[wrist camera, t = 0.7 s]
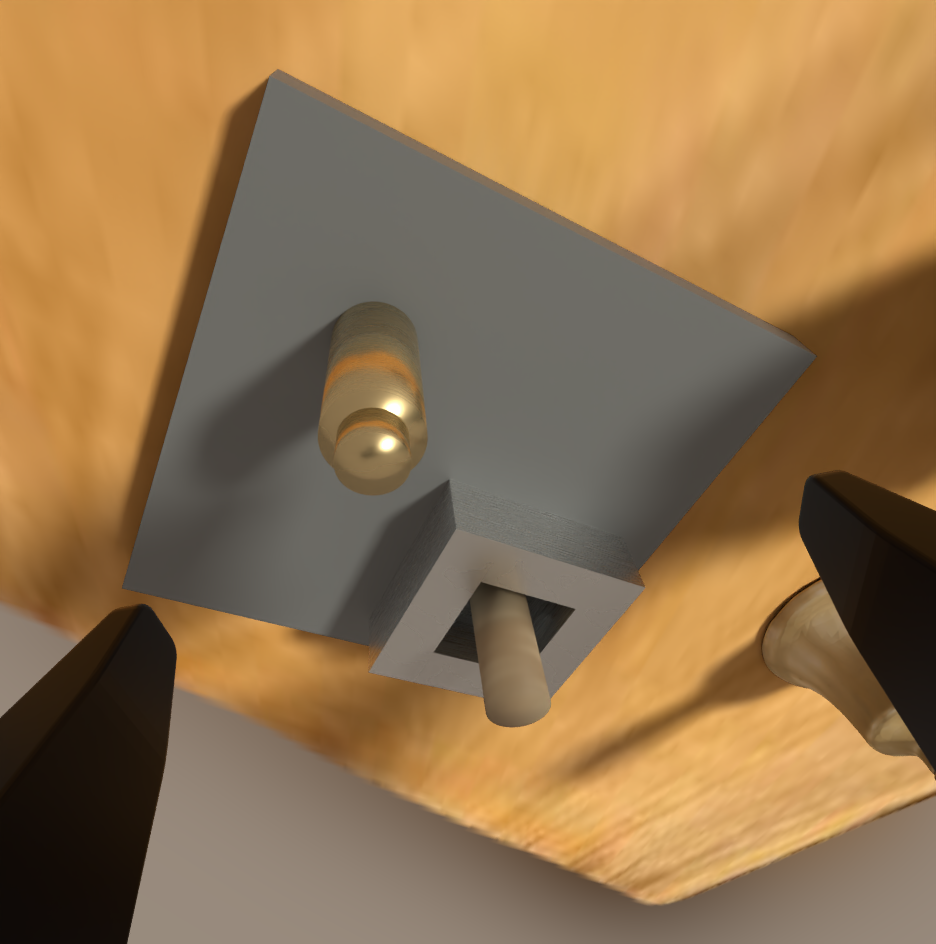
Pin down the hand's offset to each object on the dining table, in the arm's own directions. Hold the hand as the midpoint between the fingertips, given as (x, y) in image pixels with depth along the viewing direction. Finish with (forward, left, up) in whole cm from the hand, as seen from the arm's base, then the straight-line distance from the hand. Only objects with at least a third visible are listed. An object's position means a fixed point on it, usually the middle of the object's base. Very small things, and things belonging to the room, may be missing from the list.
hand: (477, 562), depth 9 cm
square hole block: (-7, +9, -11) cm, 16 cm away
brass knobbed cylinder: (+1, +2, -11) cm, 11 cm away
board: (-3, +6, -12) cm, 14 cm away
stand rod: (-7, +9, -11) cm, 16 cm away
